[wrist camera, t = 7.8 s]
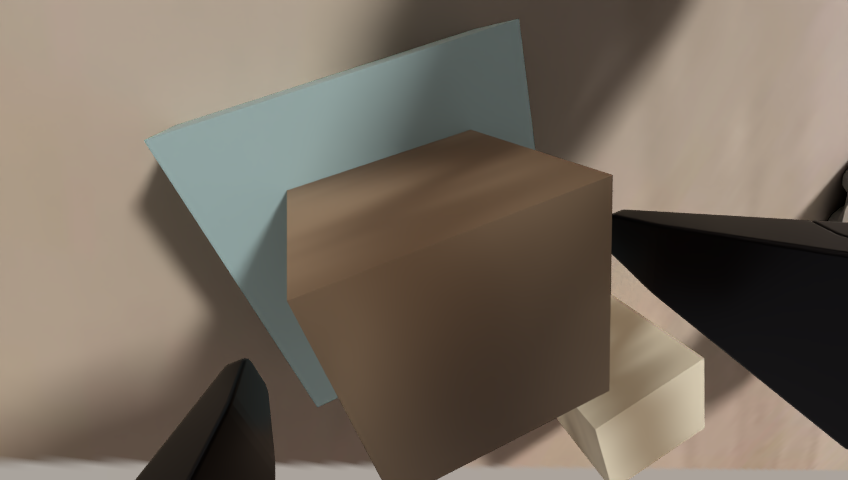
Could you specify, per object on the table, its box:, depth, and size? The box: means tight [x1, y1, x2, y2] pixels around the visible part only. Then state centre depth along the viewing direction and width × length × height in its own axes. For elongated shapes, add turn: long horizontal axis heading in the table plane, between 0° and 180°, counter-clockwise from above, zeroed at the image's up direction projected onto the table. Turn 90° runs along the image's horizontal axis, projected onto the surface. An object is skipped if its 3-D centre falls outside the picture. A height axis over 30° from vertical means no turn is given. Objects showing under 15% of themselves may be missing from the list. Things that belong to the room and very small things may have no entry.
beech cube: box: [557, 295, 704, 480], centre depth 17 cm, size 5×5×5 cm
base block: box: [144, 19, 535, 407], centre depth 12 cm, size 9×9×3 cm
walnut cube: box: [287, 130, 613, 480], centre depth 8 cm, size 5×5×5 cm
